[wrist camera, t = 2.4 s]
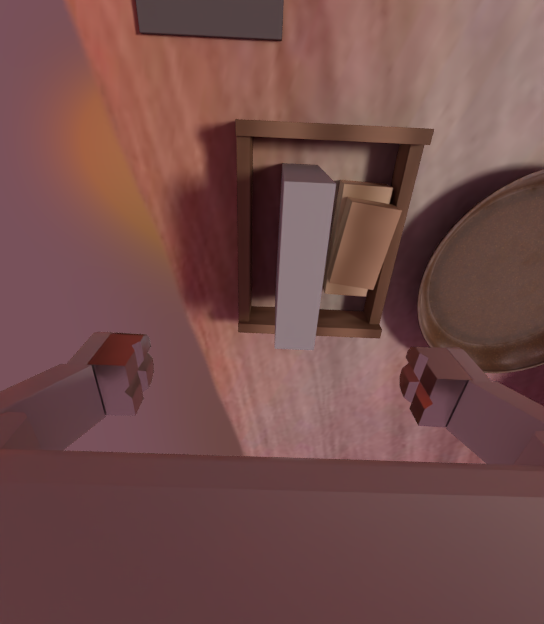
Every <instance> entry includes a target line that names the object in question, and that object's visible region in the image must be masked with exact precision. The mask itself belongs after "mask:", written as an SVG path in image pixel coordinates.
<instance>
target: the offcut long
mask: <svg viewBox="0 0 544 624" xmlns="http://www.w3.org/2000/svg"><path fill="white" fill-rule="evenodd" d="M392 191H393V187H391V186H389V185H387V184H383V183H371V182H359V181H346V180H340V184H339V190H338V196H337V202H336V208H335V213H334V219H333V225H332V231H331V237H330V243H329V249H328V255H327V261H326V267H325V272H324V278H323V288H324V292H325V294H338V295H351V296H365V297H366V294H367V290H368V289H364V288H358V287H352V286H345V285H339V284H333V283H329V280H328V277H327V270H328V266H329V263H330V259H331V256H332V252H333V248H334V245H335V241H336V237H337V234H338V230H339V226H340V223H341V219H342V215H343V212H344V208H345V204H346V201H347V197H353V198H358V199H364V200H369V201H375V202H381V203H386V204H389V203H390V199H391V195H392Z"/></svg>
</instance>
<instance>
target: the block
mask: <svg viewBox="0 0 544 624" xmlns="http://www.w3.org/2000/svg"><path fill="white" fill-rule="evenodd" d="M335 189H336V183H335V182H334V181H333V180H332V179H331V178H330V177H329V176H328V175H327V174H326V173H325V172H324V171H323V170H322V169H321V168H320V167H319V166H318V165H308V164H287V163H282V177H281V196H280V215H279V233H278V252H277V271H276V290H275V349H295V350H314V345H315V337H316V330H317V322H318V315H319V308H320V300H321V293H322V285H323V278H324V271H325V263H326V256H327V248H328V241H329V233H330V226H331V219H332V211H333V204H334V196H335Z"/></svg>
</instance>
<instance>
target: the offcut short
mask: <svg viewBox="0 0 544 624" xmlns="http://www.w3.org/2000/svg"><path fill="white" fill-rule="evenodd" d="M401 212H402V210H401V209H399V208H398V207H396V206H395V205H392V204H386V203H381V202H375V201H369V200H364V199H358V198H353V197H347V201H346V204H345V208H344V212H343V215H342V219H341V223H340V226H339V230H338V234H337V237H336V241H335V245H334V248H333V252H332V256H331V259H330V263H329V266H328V270H327V277H328V280H329V283H333V284H339V285H345V286H352V287H358V288H364V289H370V290H373V289H374V286H375V284H376V281H377V278H378V275H379V273H380V270H381V267H382V265H383V262H384V259H385V256H386V254H387V251H388V248H389V245H390V243H391V240H392V237H393V234H394V232H395V229H396V226H397V223H398V221H399V218H400V215H401Z"/></svg>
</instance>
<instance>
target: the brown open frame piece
mask: <svg viewBox="0 0 544 624" xmlns="http://www.w3.org/2000/svg"><path fill="white" fill-rule="evenodd" d="M235 121H236V138H237V218H238V298H239V322H238V332H244V333H267V334H275V307H253V306H251V270H252V172H253V136H255V137H275V138H296V139H317V140H337V141H358V142H379V143H399V144H400V145H399V150H398V154H397V159H396V163H395V168H394V173H393V177H392V182H391V187H393V191H392V195H391V199H390V203H389V204H392V205H395V206H396V207H398V208H399V209H401V210H402V212H401V215H400V218H399V221H398V223H397V226H396V229H395V232H394V234H393V237H392V240H391V243H390V245H389V248H388V251H387V254H386V256H385V259H384V262H383V265H382V267H381V270H380V273H379V275H378V278H377V281H376V284H375V286H374V289H373V290H370V289H368V293H367V297H366V302H365V307H364V311H344V310H321V309H319V315H318V322H317V330H316V336H337V337H360V338H380V336H381V332H382V329H381V327H380V325H379V323H380V319H381V315H382V311H383V307H384V303H385V299H386V295H387V291H388V287H389V284H390V280H391V276H392V272H393V268H394V264H395V260H396V256H397V252H398V248H399V244H400V240H401V236H402V232H403V228H404V224H405V220H406V216H407V212H408V208H409V204H410V200H411V196H412V192H413V188H414V184H415V180H416V176H417V172H418V168H419V164H420V160H421V156H422V152H423V148H424V145H430V143H431V139H432V136H433V132H434V129H424V128H403V127H383V126H362V125H342V124H321V123H301V122H280V121H260V120H239V119H235Z"/></svg>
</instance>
